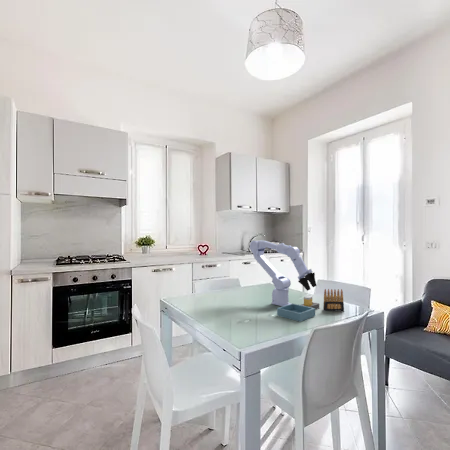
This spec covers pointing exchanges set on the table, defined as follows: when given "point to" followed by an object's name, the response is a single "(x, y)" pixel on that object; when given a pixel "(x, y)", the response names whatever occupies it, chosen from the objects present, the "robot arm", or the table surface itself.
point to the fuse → (308, 301)
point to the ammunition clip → (329, 301)
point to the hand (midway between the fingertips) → (311, 288)
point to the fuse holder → (313, 305)
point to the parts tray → (296, 312)
